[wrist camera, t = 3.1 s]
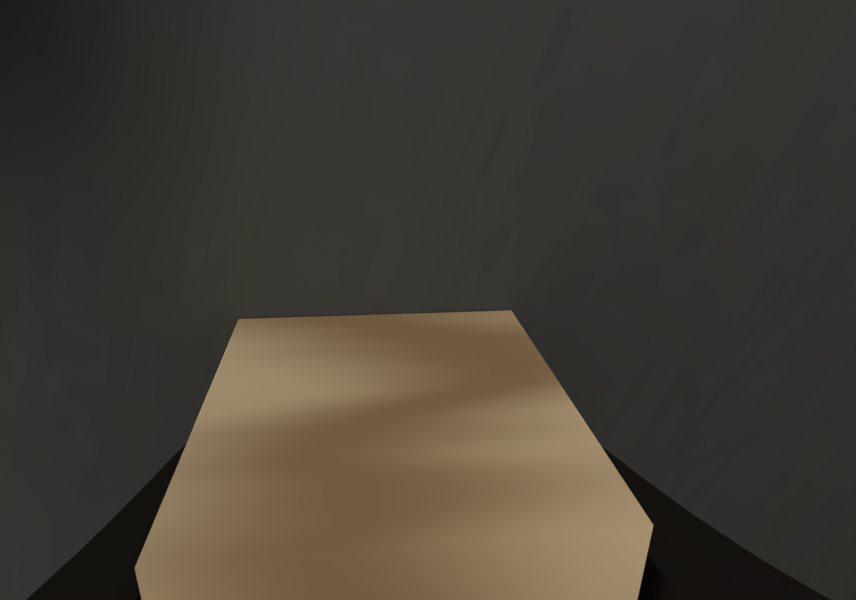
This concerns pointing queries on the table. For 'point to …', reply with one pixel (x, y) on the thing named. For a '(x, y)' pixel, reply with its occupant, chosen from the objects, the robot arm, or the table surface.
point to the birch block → (392, 472)
